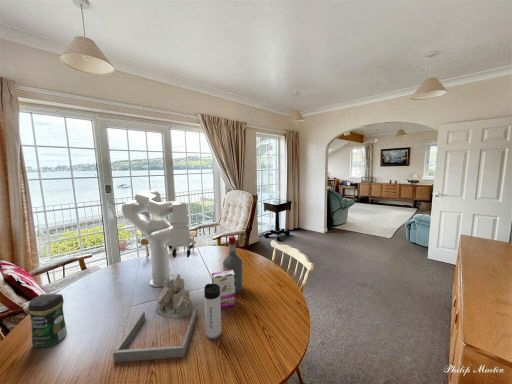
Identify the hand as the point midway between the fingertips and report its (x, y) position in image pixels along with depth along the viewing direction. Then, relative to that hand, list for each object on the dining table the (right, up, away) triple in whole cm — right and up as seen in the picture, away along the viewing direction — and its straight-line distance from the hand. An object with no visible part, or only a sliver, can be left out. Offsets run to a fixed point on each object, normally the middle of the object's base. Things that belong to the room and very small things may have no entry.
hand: (181, 256), depth 113 cm
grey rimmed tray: (+3, -22, -30) cm, 38 cm away
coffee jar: (-40, -23, -32) cm, 57 cm away
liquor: (+28, -19, +2) cm, 34 cm away
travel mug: (+24, -22, -29) cm, 44 cm away
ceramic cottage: (+1, -21, -14) cm, 25 cm away
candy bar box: (+25, -21, -11) cm, 35 cm away
